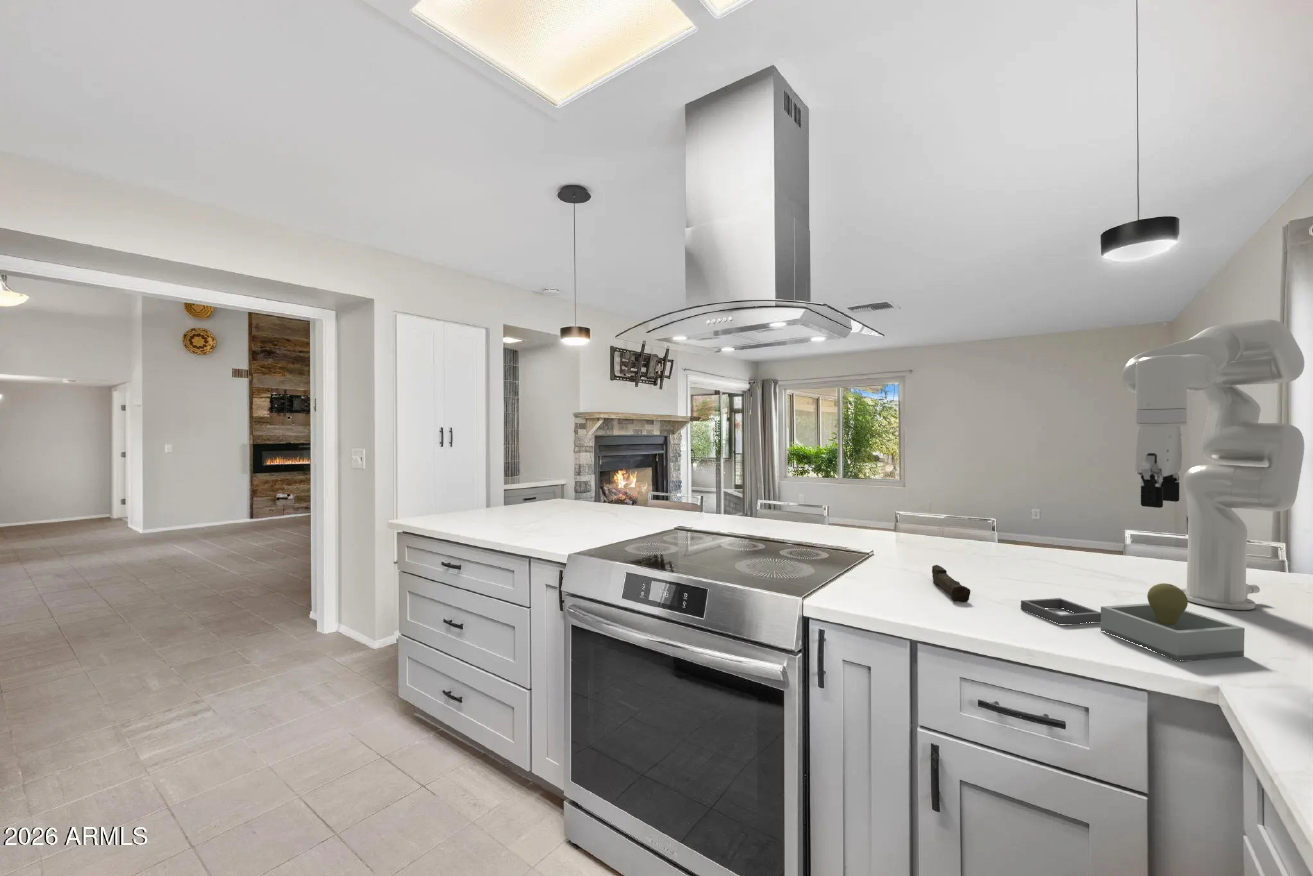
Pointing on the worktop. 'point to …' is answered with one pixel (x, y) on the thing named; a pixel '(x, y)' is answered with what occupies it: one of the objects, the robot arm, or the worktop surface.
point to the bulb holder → (1079, 617)
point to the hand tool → (950, 584)
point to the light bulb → (1167, 604)
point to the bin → (1174, 633)
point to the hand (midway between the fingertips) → (1160, 503)
